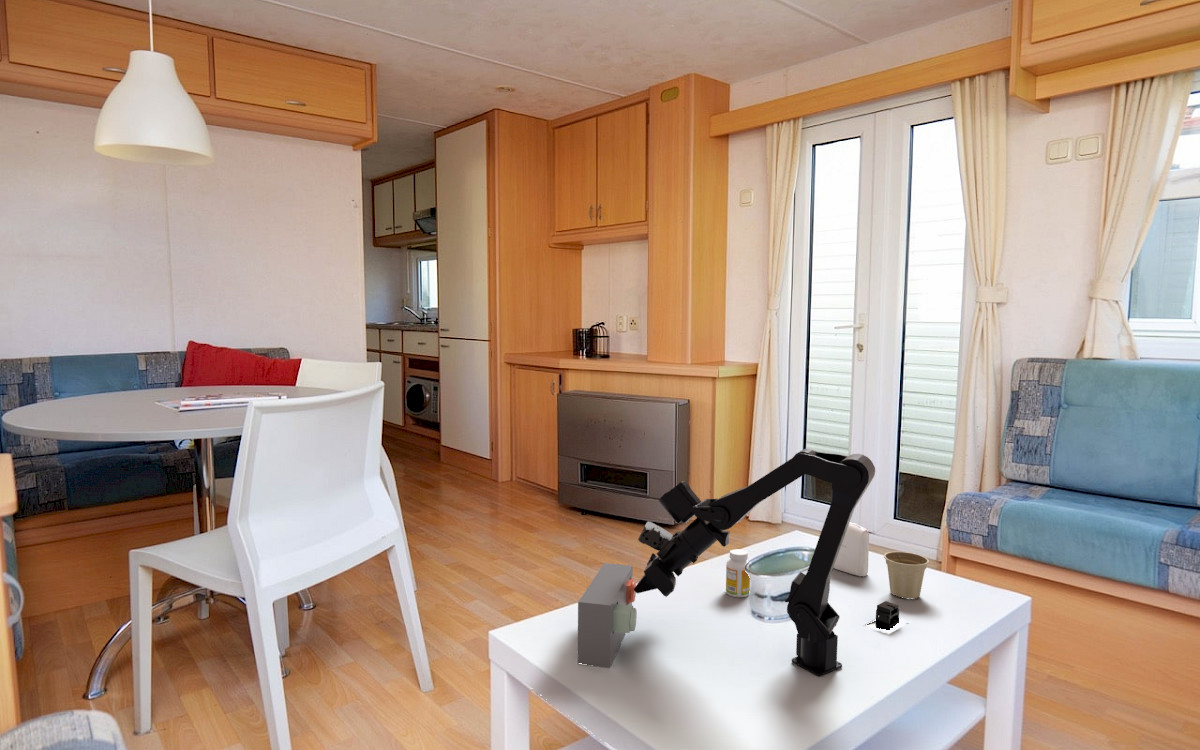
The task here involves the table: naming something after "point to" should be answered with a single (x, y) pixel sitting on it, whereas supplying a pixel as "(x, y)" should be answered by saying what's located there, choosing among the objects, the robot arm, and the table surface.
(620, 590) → the control box
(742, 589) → the supplement bottle
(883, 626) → the black grooved cube
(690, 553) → the robot arm
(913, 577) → the flower pot
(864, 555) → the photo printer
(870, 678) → the table surface
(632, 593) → the button red
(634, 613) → the button green
